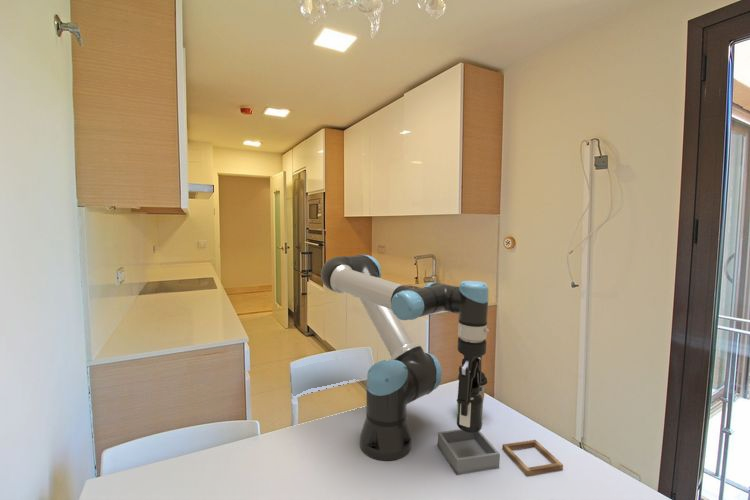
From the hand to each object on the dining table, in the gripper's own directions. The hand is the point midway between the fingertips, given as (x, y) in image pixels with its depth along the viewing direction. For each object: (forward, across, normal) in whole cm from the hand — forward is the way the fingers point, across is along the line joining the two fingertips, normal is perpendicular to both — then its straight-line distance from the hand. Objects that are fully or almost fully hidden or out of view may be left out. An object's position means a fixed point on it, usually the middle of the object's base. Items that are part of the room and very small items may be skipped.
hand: (468, 418), depth 98 cm
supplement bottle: (+2, 0, 0) cm, 2 cm away
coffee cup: (+11, +21, +5) cm, 24 cm away
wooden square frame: (+11, +8, -15) cm, 21 cm away
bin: (+11, 0, 0) cm, 11 cm away
